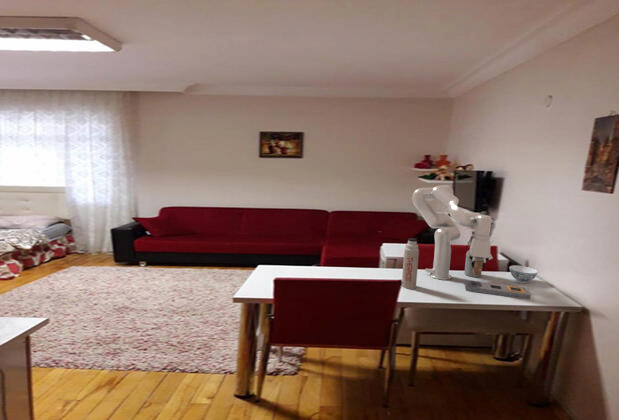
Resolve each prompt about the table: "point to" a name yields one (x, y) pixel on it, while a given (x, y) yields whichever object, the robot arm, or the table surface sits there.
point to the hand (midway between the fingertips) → (477, 267)
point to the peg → (477, 267)
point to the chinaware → (523, 273)
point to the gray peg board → (497, 289)
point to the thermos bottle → (410, 264)
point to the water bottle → (470, 262)
